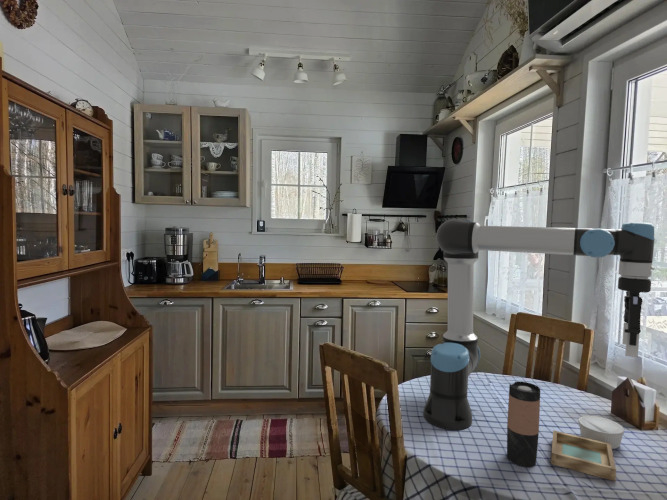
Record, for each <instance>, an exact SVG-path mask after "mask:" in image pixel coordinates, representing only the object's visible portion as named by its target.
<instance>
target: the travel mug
mask: <svg viewBox="0 0 667 500" xmlns="http://www.w3.org/2000/svg"><path fill="white" fill-rule="evenodd" d="M508 388H509V389H508V407H507V421H506V422H507V423H506V424H507V425H506V429H507V430H506V457H507V460H508V461H509V462H511V463H512V464H514V465H516V466H517V467H518V466H519V467H523V468H532V467H535V466H536V463H537V457H538V447H539V445H538V443H539V436H540V435H539V434H540V412H541V411H540V410H541V408H540V406H541V388H540V387H539V386H538V385H536V384H533V383H530V382H527V381H515V382H513V383H512V384H510V383H509V387H508Z"/></svg>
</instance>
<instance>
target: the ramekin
mask: <svg viewBox="0 0 667 500" xmlns="http://www.w3.org/2000/svg"><path fill="white" fill-rule="evenodd" d="M577 420H578V421H577V423H578V425H579V433H580V437H584V438H588V439H592V440H597V441H601V442H605V443H609V444H611V447H612V450H615V449H617V448H619V447H620V445H621V444H622V440H623V435H624V433H625V429H624V427H623V426H622V425H621V424H619V423H618V422H616V421H614V420H611V419H610V418H609V419H608V418H607V417H601V416H596V415H584V416H580V417H579V418H578V419H577Z"/></svg>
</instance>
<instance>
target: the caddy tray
mask: <svg viewBox="0 0 667 500" xmlns="http://www.w3.org/2000/svg"><path fill="white" fill-rule="evenodd" d="M551 442H552V443H551V460H550V461H551V462H550V464H551V465H554V466H557V467H562V468H565V469H568V470H573V471H575V472H580V473H583V474H587V475H590V476H595V477H598V478H602V479H605V480H609V481H613V482H616V480H617V479H616V475H617V474H616V473H617V468H616V463H615V458H614V454H613V449H612V447H611V444H609V443H605V442H601V441H597V440H592V439H588V438H584V437H582V436H578V435H575V434H570V433H567V432H566V433H565V432H562V431H557V430H554V429H553V430H552V441H551Z"/></svg>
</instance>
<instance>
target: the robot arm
mask: <svg viewBox="0 0 667 500" xmlns="http://www.w3.org/2000/svg"><path fill="white" fill-rule="evenodd" d="M435 235H436V237H435V239H436V243H437V245H438V247H439V249H441V250H442V252H443V259H444V260H445V262H446V263H447V331H446V332H444V333H443V336H442V343H438V344H436V345H434V346H433V347H432V349H431V352H430V353H431V355H430V376H429V377H430V380H429V382H430V383H429V386H430V387H429V394H428V397H427V400H426V402H425V404H424V407H423V418H424V419H425V421H426V422H428V423H429V424H430V425H432V426H435V427H438V428H440V429H445V430H454V431H455V430H464V429H468V428H469V427H470V426H471V425H472V424H473V412H472V408H471V406H470V402H469V399H468V392H469V391H468V388H469V387H468V386H469V385H468V384H469V377H470V375H471V373H472V372H473V371H474V370H475V369H476V368H477V367H478V366H479V363H480V359H481V350H480V348H479V344H478V343H479V341H478V339H479V338H478V336H477V335H476V334H475V332H474V287H475V286H474V283H475V281H474V280H475V278H474V275H475V274H474V273H475V272H474V271H475V265H474V264H475V263H476V262H477V261H478V260H479V252H480V251H486V252H487V251H490V252H505V253H507V252H509V253H524V254H525V253H526V254H529V253H530V254H546V255H564V256H565V255H567V256H578V257H579V256H581V257H583V256H584V257H590V258H604V257H606V256H619V263H618V275H619V277H618V283H617V289H618V290H620V291H623V292H625V293H626V295H624V298H623V299H624V300H623V301H624V313H623V332H622V343H621V344H622V345H625V357H631V358H639V346H640V345H639V344H640V343H639V342H640V333H641V332H642V331H641V313H642V306H643V298H642V296H640V293H650V292H651V290H652V289H651V288H652V280H651V279H650V278H652V274H653V272H652V271H654V270H656V269H655V268H656V267H655V266H653V259H654V250H655V249H654V247H655V240H656V239H655V226H654V224H652V223H651V222H624V223H622V225H621V227H620V229H619V228H618V229H617V228H615V229H607V228H599V227H595V228H590V227H589V228H588V227H587V228H582V227H580V228H579V227H578V228H577V227H550V226H549V227H548V226H547V227H546V226H545V227H544V226H542V227H539V226H510V225H509V226H505V225H504V226H503V225H500V226H499V225H481V224H480V223H479V222H476V221H475V222H473V221H471V220H469V219H459V218H458V219H457V218H452V219H448V220H446V221H444V222H443V223H441V224H440V226H439V227H438V229H437V231H436V234H435Z"/></svg>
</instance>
